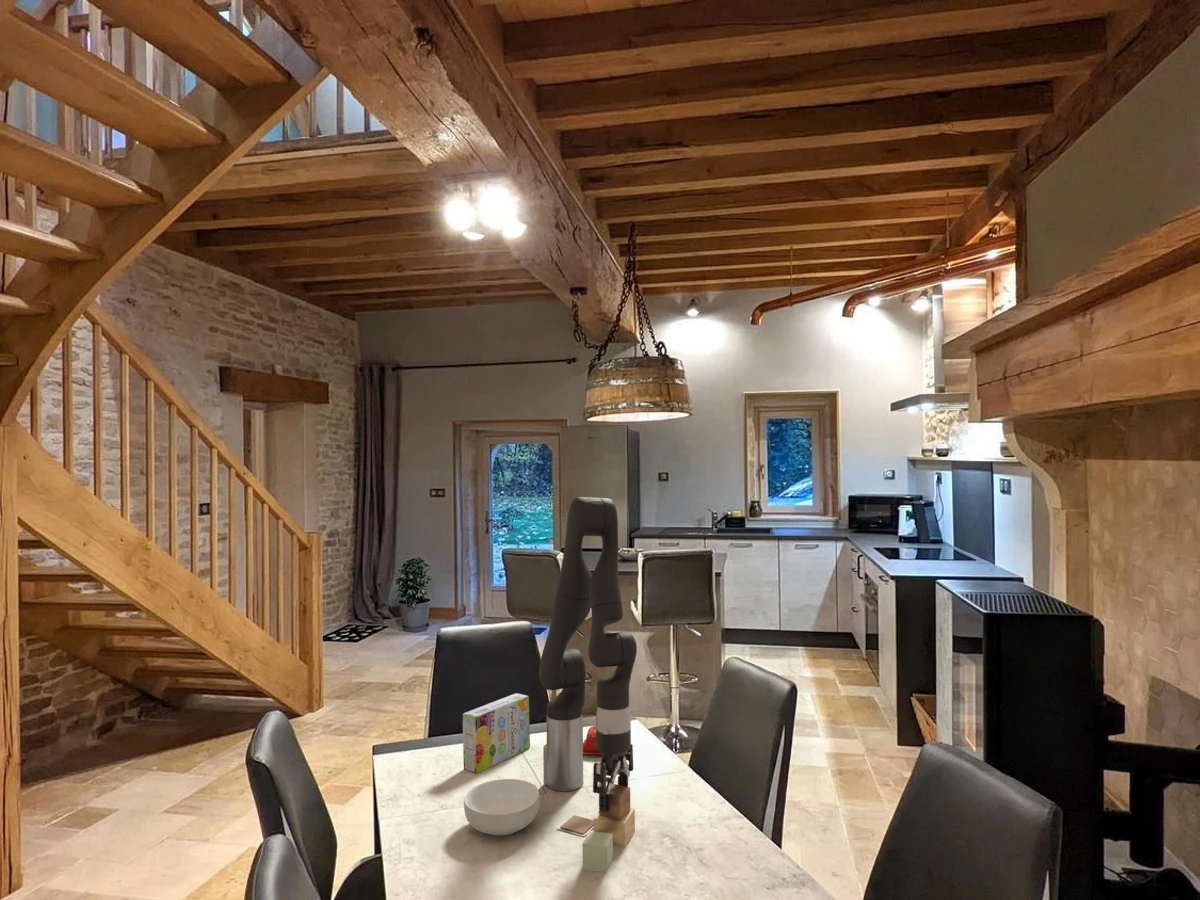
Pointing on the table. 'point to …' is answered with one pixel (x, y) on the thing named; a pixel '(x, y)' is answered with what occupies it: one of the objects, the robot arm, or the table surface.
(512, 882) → the table surface
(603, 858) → the sage cube
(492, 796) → the cereal bowl
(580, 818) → the walnut swatch
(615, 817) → the walnut cube
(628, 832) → the oak base block
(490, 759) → the snack box
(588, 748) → the butter dish
